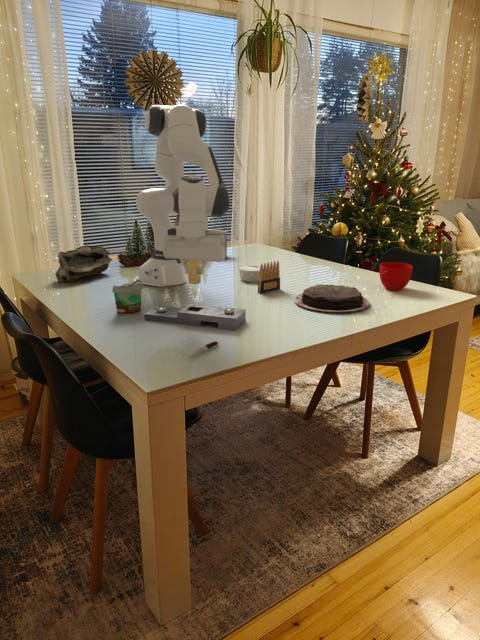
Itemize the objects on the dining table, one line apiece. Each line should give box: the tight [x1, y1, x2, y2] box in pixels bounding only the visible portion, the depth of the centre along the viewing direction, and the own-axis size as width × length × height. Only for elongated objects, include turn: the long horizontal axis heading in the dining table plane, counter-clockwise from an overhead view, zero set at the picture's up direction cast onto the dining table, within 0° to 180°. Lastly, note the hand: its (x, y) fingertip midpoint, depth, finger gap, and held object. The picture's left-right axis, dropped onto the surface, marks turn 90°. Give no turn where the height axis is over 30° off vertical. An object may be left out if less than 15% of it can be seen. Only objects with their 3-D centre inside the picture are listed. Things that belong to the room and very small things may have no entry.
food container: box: [111, 279, 144, 315], centre depth 172 cm, size 12×6×10 cm, turn 148°
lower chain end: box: [143, 305, 208, 327], centre depth 166 cm, size 20×10×3 cm, turn 72°
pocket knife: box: [188, 341, 220, 359], centre depth 138 cm, size 14×1×2 cm, turn 146°
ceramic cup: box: [379, 261, 414, 292], centre depth 203 cm, size 13×17×10 cm
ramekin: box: [238, 265, 261, 283], centre depth 218 cm, size 11×11×5 cm
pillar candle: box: [209, 229, 228, 259], centre depth 263 cm, size 10×10×15 cm
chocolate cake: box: [293, 283, 371, 315], centre depth 185 cm, size 28×28×7 cm
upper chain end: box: [177, 303, 247, 332], centre depth 162 cm, size 20×10×5 cm, turn 72°
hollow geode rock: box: [54, 245, 113, 283], centre depth 219 cm, size 28×13×15 cm
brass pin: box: [187, 260, 202, 285], centre depth 159 cm, size 3×3×8 cm
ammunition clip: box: [257, 260, 281, 295], centre depth 199 cm, size 11×2×12 cm, turn 130°
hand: (194, 273), depth 159 cm, fingers closed on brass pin, 3 cm apart
